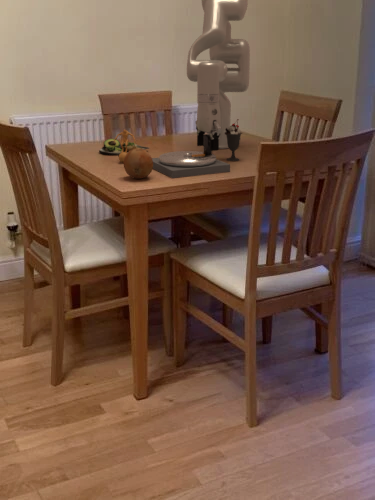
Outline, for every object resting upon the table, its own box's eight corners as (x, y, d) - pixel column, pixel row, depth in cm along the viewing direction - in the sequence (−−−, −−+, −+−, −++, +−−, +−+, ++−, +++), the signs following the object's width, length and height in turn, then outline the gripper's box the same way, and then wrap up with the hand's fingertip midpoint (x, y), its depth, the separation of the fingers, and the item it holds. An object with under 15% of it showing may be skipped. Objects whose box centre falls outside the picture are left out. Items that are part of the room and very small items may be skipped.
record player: (199, 153, 239) (199, 130, 236) (226, 163, 222) (226, 138, 219) (150, 158, 230) (149, 134, 227) (173, 169, 213) (173, 143, 211)
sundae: (243, 158, 243) (244, 118, 238) (239, 162, 237) (240, 121, 232) (227, 157, 245) (227, 117, 240) (222, 160, 239) (222, 120, 234)
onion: (151, 174, 219) (151, 145, 215) (155, 181, 209) (154, 150, 206) (123, 175, 217) (122, 146, 214) (125, 182, 208) (124, 151, 204)
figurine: (111, 163, 235) (110, 130, 231) (116, 160, 241) (115, 128, 237) (133, 164, 234) (132, 131, 230) (138, 161, 239) (137, 128, 235)
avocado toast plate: (152, 148, 265) (152, 137, 263) (145, 157, 248) (145, 145, 246) (106, 147, 266) (105, 136, 265) (96, 156, 250) (95, 144, 248)
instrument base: (200, 159, 241) (201, 152, 240) (230, 171, 222) (230, 163, 221) (146, 165, 232) (146, 158, 231) (172, 178, 213) (172, 170, 212)
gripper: (229, 101, 217) (228, 151, 222) (206, 96, 231) (205, 143, 237) (210, 102, 213) (209, 153, 219) (187, 97, 228) (187, 144, 234)
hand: (207, 148), depth 228 cm, fingers open, 9 cm apart
